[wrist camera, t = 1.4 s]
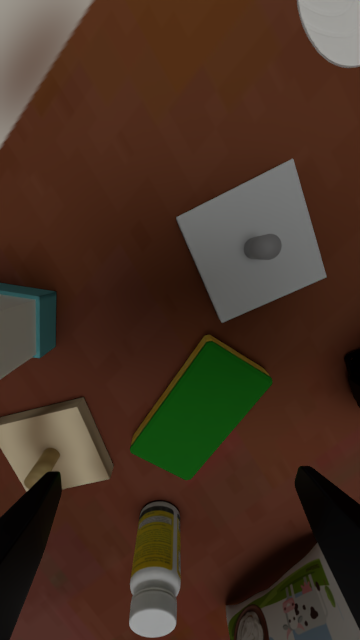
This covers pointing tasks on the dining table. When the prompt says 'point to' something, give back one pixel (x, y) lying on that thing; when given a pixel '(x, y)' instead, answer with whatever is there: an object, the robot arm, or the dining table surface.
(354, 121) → the dining table surface
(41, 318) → the sleeve
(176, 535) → the supplement bottle
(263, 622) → the pouch
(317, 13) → the spoon
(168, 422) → the dish sponge
